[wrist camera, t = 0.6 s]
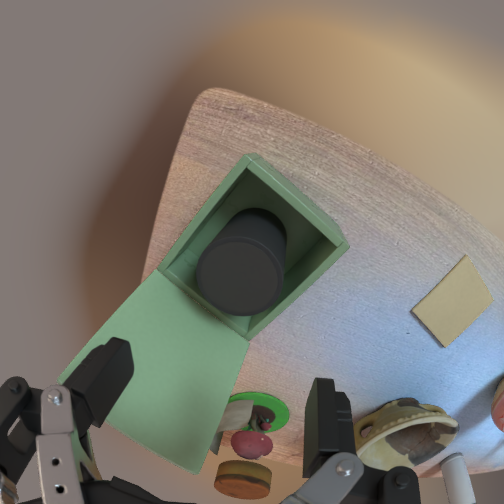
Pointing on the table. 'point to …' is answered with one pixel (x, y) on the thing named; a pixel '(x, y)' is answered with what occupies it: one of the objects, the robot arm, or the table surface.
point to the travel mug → (457, 480)
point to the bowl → (403, 434)
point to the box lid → (171, 371)
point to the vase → (498, 406)
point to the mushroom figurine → (248, 443)
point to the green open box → (293, 218)
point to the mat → (454, 302)
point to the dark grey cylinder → (244, 263)
